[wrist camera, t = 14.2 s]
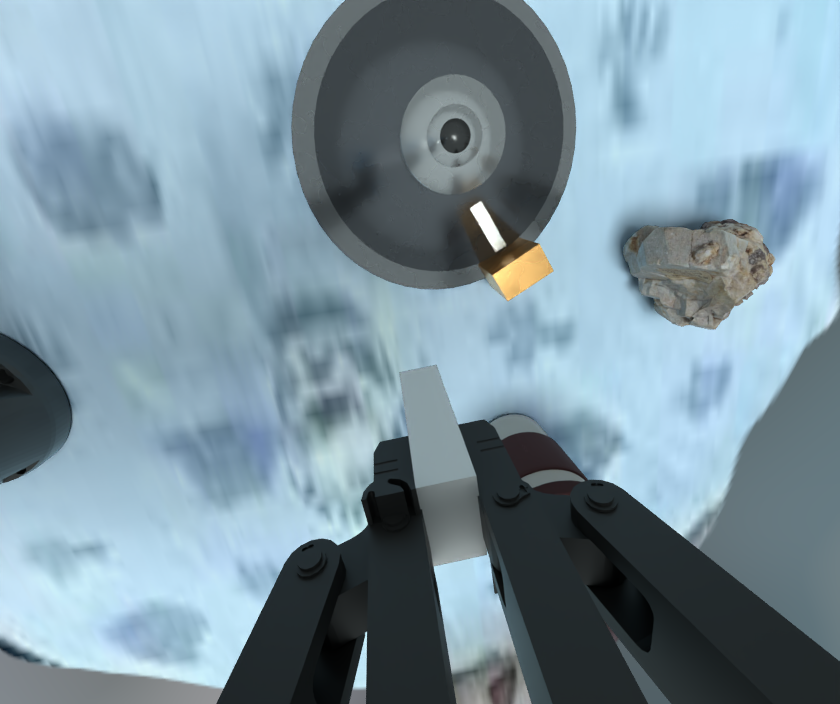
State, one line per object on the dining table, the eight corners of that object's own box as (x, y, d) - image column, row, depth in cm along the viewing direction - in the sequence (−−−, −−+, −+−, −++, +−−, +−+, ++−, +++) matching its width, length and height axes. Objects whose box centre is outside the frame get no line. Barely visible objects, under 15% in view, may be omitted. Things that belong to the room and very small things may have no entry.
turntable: (425, 330, 35) (432, 351, 31) (266, 110, 28) (242, 92, 23) (602, 212, 33) (638, 215, 28) (477, -67, 25) (499, -125, 21)
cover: (435, 213, 30) (440, 216, 27) (379, 127, 27) (379, 119, 24) (513, 155, 29) (527, 151, 26) (462, 60, 26) (472, 43, 23)
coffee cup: (474, 396, 39) (523, 506, 25) (565, 405, 41) (658, 514, 27) (455, 475, 43) (490, 608, 29) (540, 481, 44) (611, 611, 30)
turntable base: (276, 254, 33) (275, 255, 32) (317, -85, 25) (316, -91, 24) (518, 311, 36) (520, 313, 36) (617, 31, 29) (622, 28, 28)
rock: (647, 312, 41) (776, 314, 33) (602, 343, 33) (755, 354, 26) (647, 221, 38) (786, 202, 31) (598, 234, 31) (766, 212, 23)
